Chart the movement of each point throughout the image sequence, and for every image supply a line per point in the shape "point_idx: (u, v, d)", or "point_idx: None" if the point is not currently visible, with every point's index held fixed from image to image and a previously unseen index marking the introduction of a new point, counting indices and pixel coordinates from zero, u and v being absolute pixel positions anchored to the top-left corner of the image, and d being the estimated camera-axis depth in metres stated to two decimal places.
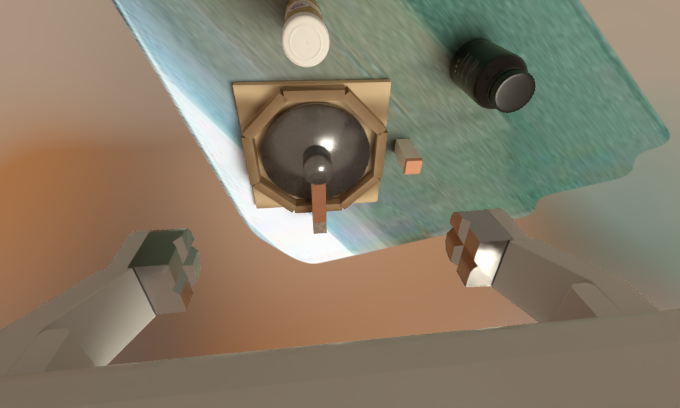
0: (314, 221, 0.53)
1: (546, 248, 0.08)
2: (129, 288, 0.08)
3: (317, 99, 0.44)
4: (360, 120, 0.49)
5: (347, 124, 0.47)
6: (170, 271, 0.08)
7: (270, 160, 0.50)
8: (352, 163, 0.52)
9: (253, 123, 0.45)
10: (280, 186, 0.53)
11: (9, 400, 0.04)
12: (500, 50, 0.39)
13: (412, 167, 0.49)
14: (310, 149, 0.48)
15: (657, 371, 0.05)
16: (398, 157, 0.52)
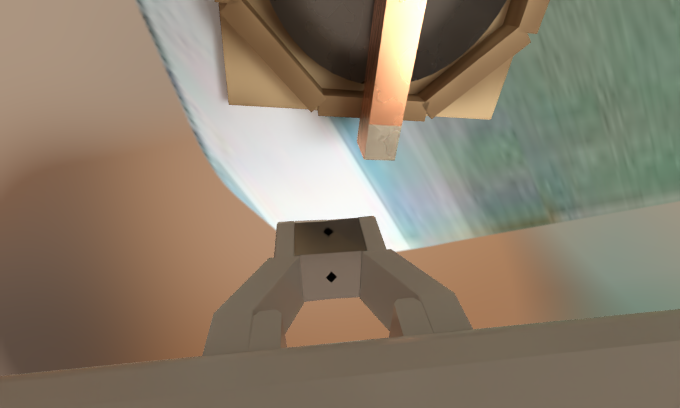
0: (373, 119, 0.21)
1: (395, 259, 0.08)
2: (295, 275, 0.08)
3: None
4: None
5: None
6: (330, 259, 0.08)
7: None
8: None
9: None
10: (292, 29, 0.21)
11: (9, 400, 0.04)
12: None
13: None
14: None
15: (657, 371, 0.05)
16: None
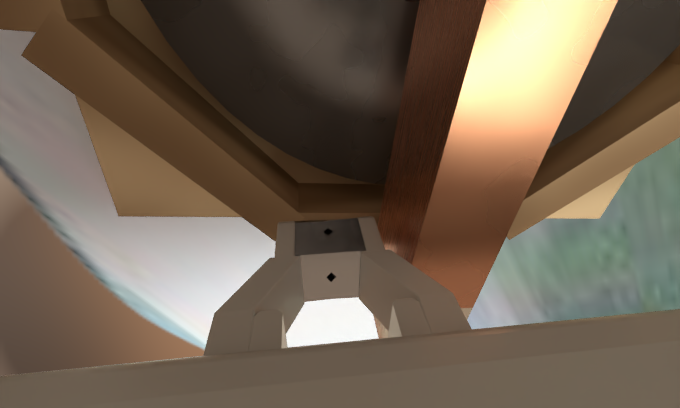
0: None
1: (394, 260, 0.08)
2: (296, 275, 0.08)
3: None
4: None
5: None
6: (331, 259, 0.08)
7: None
8: None
9: None
10: (219, 85, 0.09)
11: (9, 400, 0.04)
12: None
13: None
14: None
15: (657, 371, 0.05)
16: None
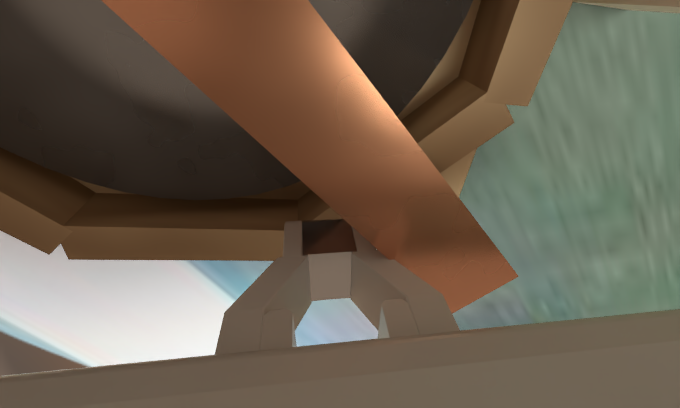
0: (404, 261, 0.08)
1: (384, 260, 0.08)
2: (304, 274, 0.08)
3: None
4: None
5: None
6: (338, 259, 0.08)
7: None
8: None
9: None
10: (173, 190, 0.11)
11: (9, 400, 0.04)
12: None
13: None
14: None
15: (657, 371, 0.05)
16: None
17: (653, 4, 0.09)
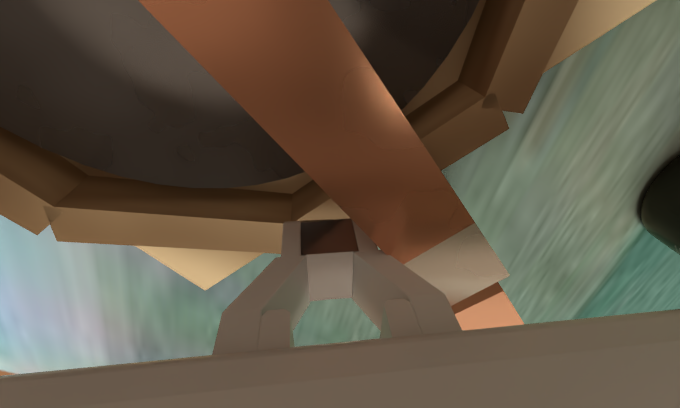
0: (399, 256, 0.08)
1: (386, 260, 0.08)
2: (302, 274, 0.08)
3: None
4: None
5: None
6: (337, 259, 0.08)
7: None
8: None
9: None
10: (171, 176, 0.11)
11: (9, 400, 0.04)
12: None
13: (479, 322, 0.10)
14: None
15: (657, 371, 0.05)
16: None
17: None
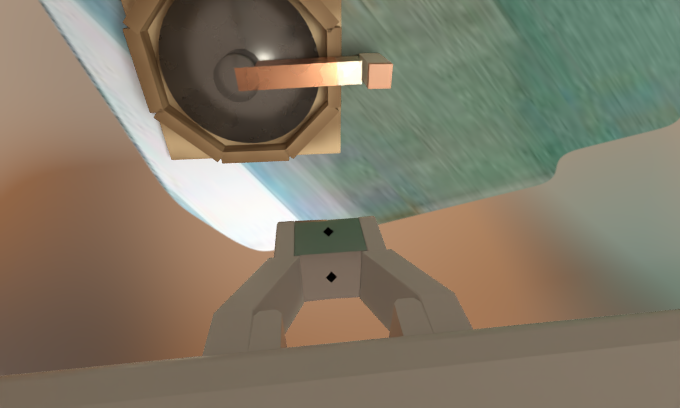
0: (334, 83, 0.33)
1: (395, 259, 0.08)
2: (295, 275, 0.08)
3: None
4: (303, 13, 0.34)
5: (178, 23, 0.32)
6: (330, 259, 0.08)
7: (256, 132, 0.39)
8: (245, 8, 0.32)
9: (136, 2, 0.30)
10: (297, 121, 0.39)
11: (9, 400, 0.04)
12: None
13: (378, 76, 0.33)
14: None
15: (657, 371, 0.05)
16: (362, 73, 0.37)
17: (362, 80, 0.37)
